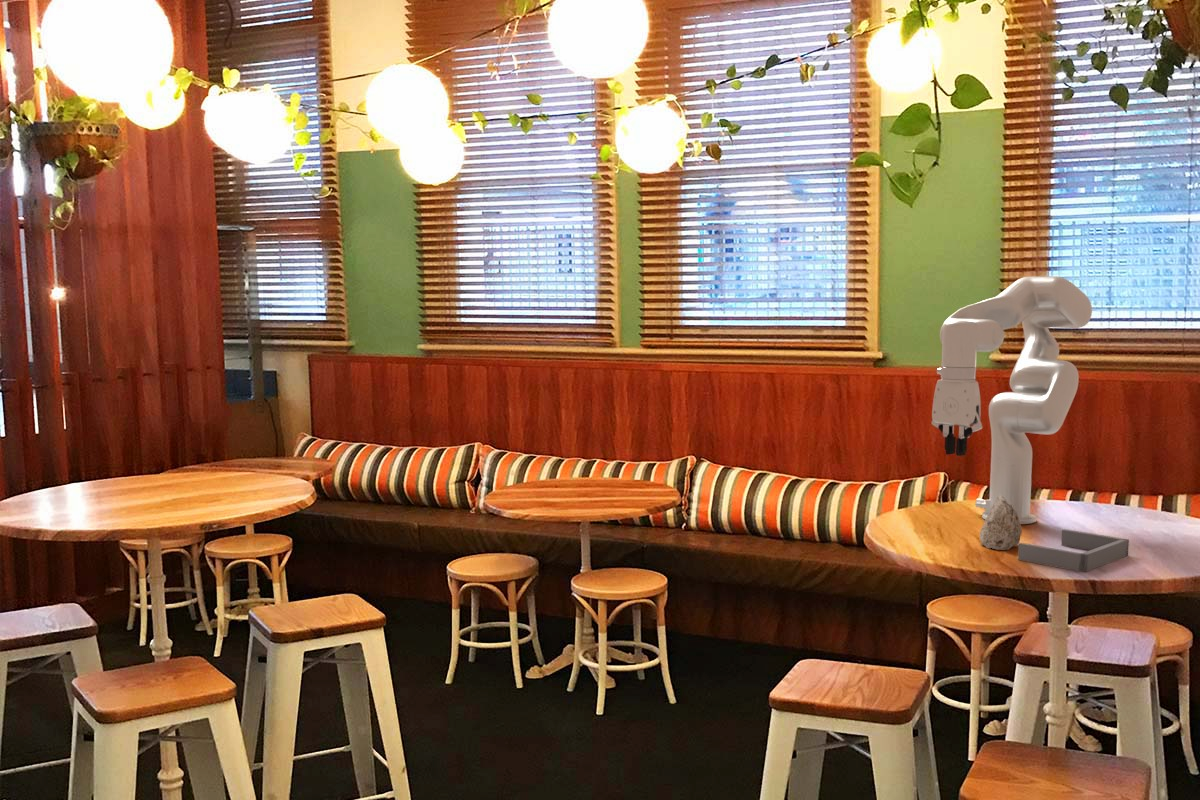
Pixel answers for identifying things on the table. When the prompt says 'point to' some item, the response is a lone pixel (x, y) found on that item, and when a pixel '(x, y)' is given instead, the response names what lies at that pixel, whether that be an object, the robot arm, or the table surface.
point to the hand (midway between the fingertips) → (955, 454)
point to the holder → (1099, 554)
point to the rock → (1001, 526)
